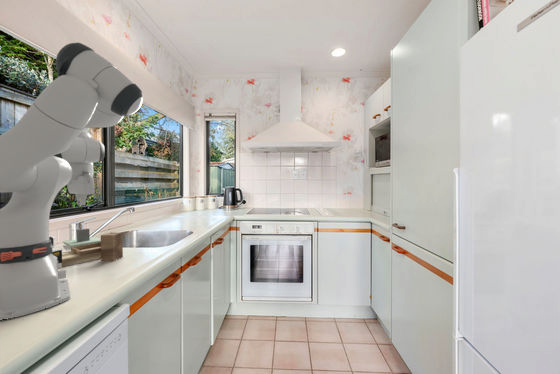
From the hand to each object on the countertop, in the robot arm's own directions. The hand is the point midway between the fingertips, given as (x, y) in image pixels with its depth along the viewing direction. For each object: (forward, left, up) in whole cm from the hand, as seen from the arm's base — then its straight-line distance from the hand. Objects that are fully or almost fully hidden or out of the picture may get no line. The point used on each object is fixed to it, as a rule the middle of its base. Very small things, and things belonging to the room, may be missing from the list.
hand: (81, 205), depth 104 cm
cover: (+5, -2, -17) cm, 18 cm away
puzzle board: (-6, +2, -21) cm, 22 cm away
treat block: (-16, -5, -21) cm, 27 cm away
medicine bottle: (-10, +14, -22) cm, 28 cm away
